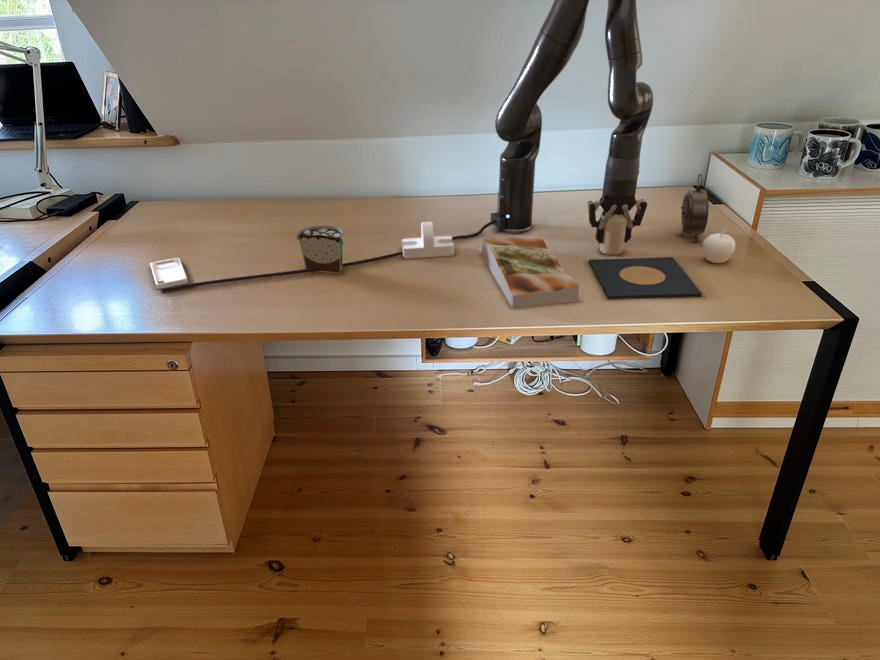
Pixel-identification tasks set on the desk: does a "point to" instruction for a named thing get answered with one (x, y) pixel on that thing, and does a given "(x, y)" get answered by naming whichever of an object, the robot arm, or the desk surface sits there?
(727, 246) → the plain white apple
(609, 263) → the mat
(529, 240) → the topographic model
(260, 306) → the desk surface
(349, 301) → the desk surface
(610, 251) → the candle
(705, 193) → the alarm clock
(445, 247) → the slotted bracket
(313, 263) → the food container
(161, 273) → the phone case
